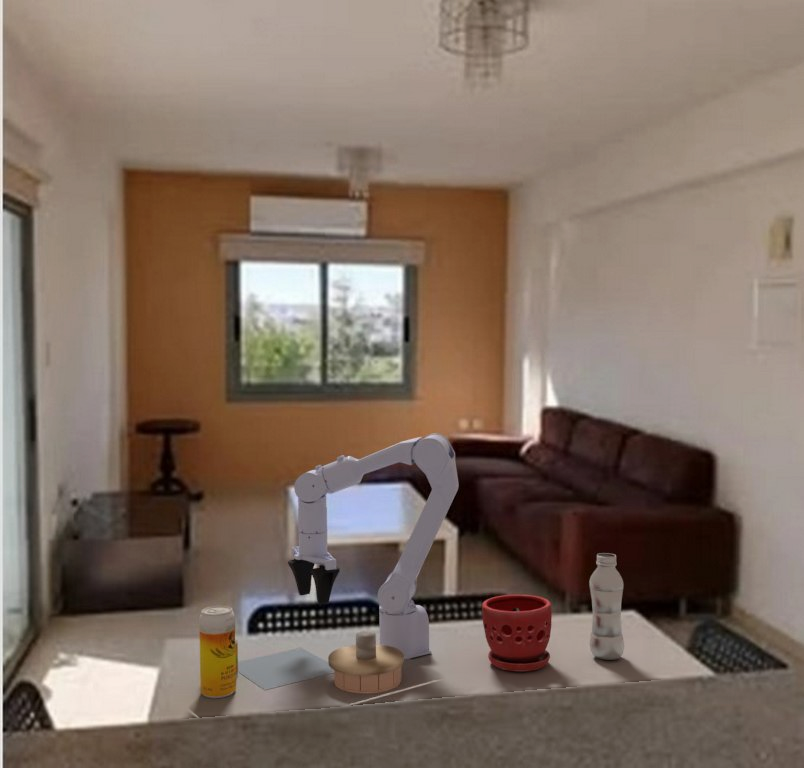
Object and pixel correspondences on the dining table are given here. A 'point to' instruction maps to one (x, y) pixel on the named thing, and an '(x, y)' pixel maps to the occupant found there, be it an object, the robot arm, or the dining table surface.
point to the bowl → (368, 682)
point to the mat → (283, 668)
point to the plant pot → (517, 631)
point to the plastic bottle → (606, 609)
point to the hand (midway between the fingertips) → (313, 598)
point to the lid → (366, 657)
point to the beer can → (217, 651)
